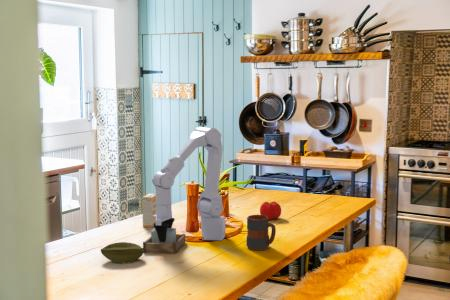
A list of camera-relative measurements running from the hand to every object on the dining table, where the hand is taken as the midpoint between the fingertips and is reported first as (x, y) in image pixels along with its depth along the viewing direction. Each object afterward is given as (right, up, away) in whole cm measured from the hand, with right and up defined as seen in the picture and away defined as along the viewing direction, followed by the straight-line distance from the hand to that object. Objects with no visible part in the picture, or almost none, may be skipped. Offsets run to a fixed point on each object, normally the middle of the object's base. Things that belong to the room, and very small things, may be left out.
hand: (164, 239), depth 223 cm
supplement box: (-9, +1, +35) cm, 36 cm away
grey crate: (0, -2, 0) cm, 2 cm away
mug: (+36, -3, -2) cm, 37 cm away
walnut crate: (0, -3, 0) cm, 3 cm away
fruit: (-13, -6, -14) cm, 20 cm away
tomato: (+43, +3, +42) cm, 61 cm away
